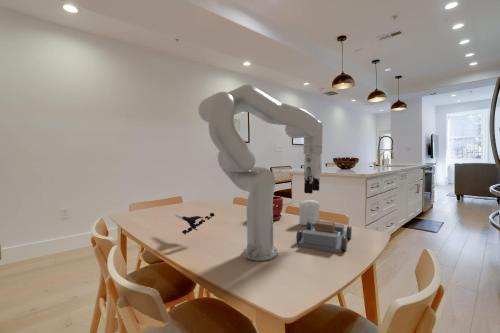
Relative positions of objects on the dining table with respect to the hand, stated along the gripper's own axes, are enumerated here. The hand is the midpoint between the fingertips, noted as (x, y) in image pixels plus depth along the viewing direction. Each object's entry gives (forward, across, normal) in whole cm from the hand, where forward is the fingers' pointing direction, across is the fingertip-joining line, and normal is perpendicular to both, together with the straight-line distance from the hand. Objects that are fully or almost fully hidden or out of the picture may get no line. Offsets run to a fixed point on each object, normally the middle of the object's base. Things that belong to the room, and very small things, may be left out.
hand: (312, 191), depth 103 cm
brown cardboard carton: (+18, +1, -5) cm, 19 cm away
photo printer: (+20, +21, +7) cm, 30 cm away
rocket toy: (+22, -24, +48) cm, 58 cm away
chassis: (+20, +1, -5) cm, 21 cm away
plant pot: (+20, +22, +29) cm, 42 cm away
